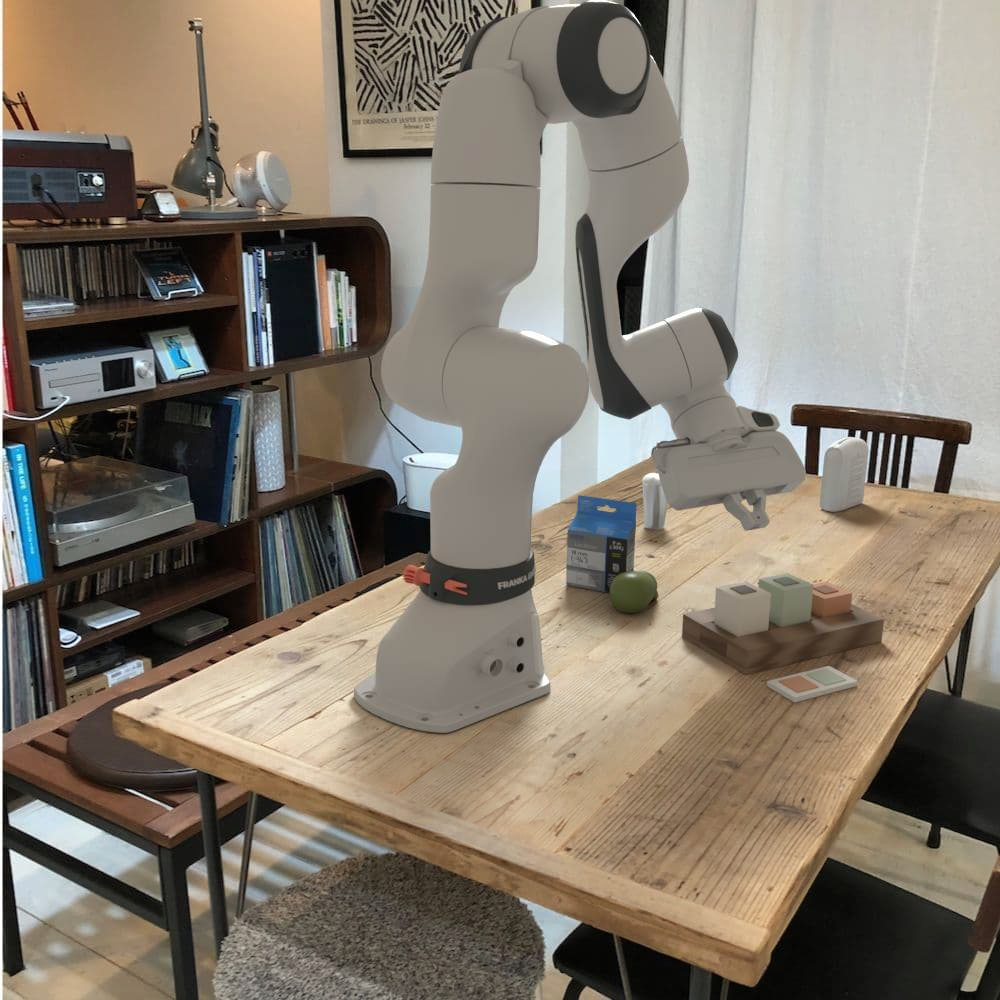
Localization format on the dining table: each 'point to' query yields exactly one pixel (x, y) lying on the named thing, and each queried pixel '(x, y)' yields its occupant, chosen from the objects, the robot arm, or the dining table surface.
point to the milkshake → (653, 502)
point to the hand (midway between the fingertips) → (758, 527)
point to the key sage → (788, 599)
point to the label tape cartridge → (600, 543)
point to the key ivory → (742, 608)
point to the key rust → (830, 600)
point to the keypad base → (783, 639)
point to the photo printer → (844, 474)
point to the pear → (633, 591)
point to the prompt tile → (811, 683)
